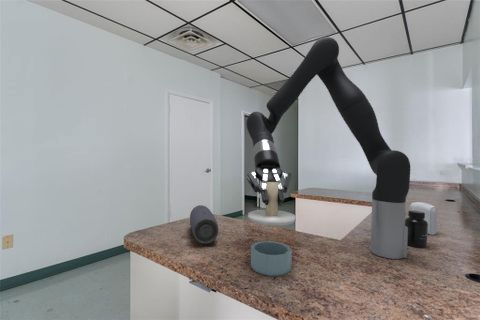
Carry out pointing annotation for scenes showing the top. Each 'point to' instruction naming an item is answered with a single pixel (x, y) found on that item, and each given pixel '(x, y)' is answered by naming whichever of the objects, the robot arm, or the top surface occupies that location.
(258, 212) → the lid
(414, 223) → the supplement bottle
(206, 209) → the bluetooth speaker
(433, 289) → the top surface
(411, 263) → the top surface
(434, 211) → the photo printer
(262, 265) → the bowl
